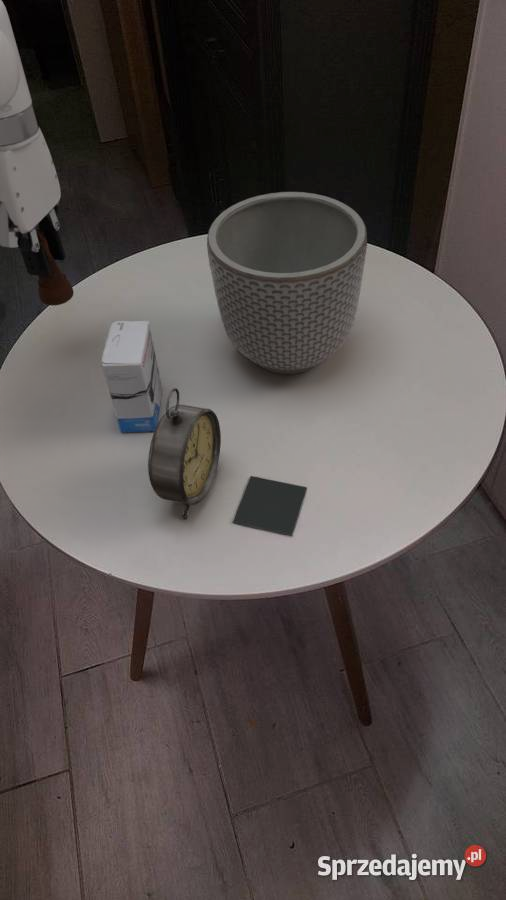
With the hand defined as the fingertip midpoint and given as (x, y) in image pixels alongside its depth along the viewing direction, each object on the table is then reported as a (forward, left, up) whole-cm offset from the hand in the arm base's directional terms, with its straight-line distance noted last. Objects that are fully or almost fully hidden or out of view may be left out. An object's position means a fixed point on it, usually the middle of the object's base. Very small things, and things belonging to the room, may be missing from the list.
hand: (47, 265), depth 90 cm
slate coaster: (+36, -21, -14) cm, 44 cm away
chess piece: (0, 0, -5) cm, 5 cm away
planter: (+31, +6, -14) cm, 35 cm away
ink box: (+15, -10, -14) cm, 23 cm away
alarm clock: (+26, -21, -14) cm, 36 cm away
